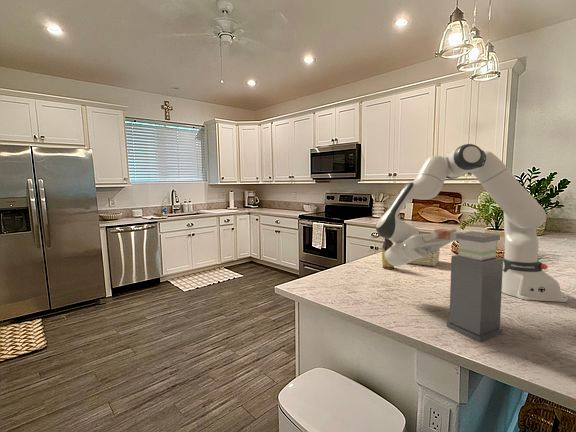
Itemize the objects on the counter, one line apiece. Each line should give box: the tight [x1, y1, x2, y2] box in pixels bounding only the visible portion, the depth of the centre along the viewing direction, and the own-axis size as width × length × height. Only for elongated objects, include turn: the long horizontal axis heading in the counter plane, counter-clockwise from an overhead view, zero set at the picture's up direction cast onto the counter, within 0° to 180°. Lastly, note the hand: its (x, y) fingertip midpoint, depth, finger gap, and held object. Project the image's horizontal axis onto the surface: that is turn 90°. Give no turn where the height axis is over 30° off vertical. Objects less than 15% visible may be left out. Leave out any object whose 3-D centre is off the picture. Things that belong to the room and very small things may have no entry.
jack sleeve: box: [446, 254, 504, 343], centre depth 96 cm, size 11×11×24 cm
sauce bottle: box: [381, 238, 395, 270], centre depth 168 cm, size 7×6×20 cm
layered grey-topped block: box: [434, 228, 501, 262], centre depth 100 cm, size 18×8×24 cm, turn 26°
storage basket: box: [408, 247, 441, 267], centre depth 180 cm, size 24×16×15 cm
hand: (446, 232), depth 104 cm, fingers open, 8 cm apart
